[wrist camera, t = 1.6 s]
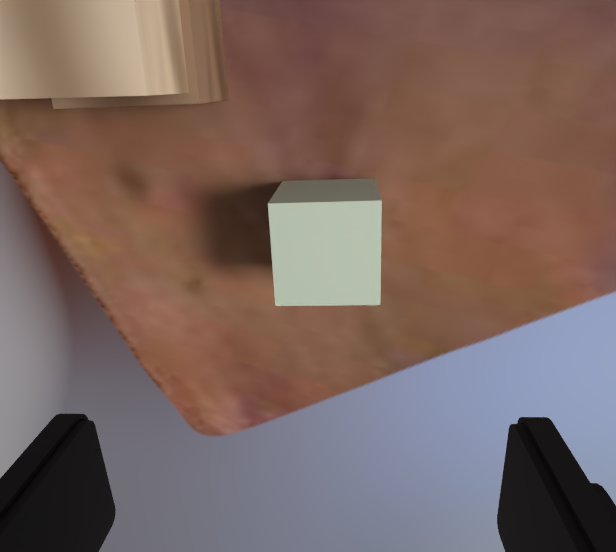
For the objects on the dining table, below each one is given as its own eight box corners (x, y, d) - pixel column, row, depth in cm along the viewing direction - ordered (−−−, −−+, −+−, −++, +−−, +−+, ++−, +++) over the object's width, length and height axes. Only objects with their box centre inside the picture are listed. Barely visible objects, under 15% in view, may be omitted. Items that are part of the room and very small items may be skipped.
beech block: (171, -64, 20) (118, -109, 15) (188, 92, 22) (147, 95, 17) (31, -57, 20) (-62, -99, 16) (62, 96, 22) (-12, 99, 18)
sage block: (374, 178, 29) (381, 200, 23) (374, 264, 31) (380, 305, 25) (282, 180, 29) (267, 203, 24) (287, 266, 31) (275, 306, 26)
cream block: (215, -44, 25) (179, -81, 20) (229, 99, 28) (199, 103, 22) (86, -36, 26) (14, -69, 20) (110, 104, 28) (53, 108, 23)
